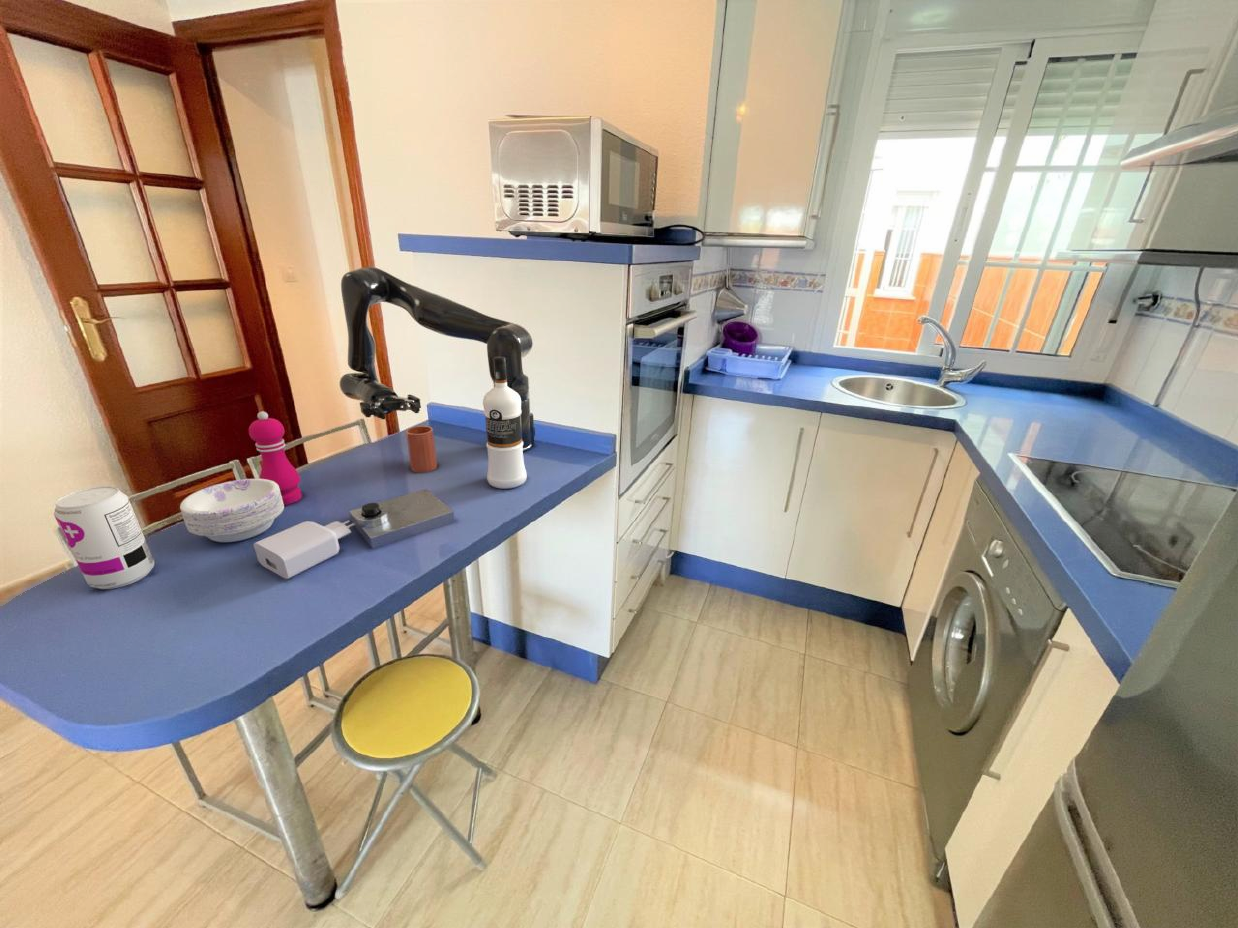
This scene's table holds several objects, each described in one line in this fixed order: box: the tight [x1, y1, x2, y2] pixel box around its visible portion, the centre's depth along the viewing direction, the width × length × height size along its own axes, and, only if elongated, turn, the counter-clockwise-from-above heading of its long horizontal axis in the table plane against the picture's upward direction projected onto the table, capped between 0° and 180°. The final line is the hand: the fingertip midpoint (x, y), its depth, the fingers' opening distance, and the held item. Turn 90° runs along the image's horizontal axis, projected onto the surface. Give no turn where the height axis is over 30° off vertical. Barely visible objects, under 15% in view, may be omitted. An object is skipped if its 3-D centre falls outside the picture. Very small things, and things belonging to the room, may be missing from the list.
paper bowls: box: [179, 478, 285, 543], centre depth 96 cm, size 15×15×8 cm
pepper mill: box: [248, 411, 303, 506], centre depth 105 cm, size 7×7×20 cm
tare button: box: [361, 502, 380, 518], centre depth 97 cm, size 3×3×2 cm
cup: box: [405, 425, 438, 473], centre depth 124 cm, size 6×6×10 cm
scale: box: [348, 488, 455, 550], centre depth 101 cm, size 16×13×4 cm
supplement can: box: [53, 485, 155, 590], centre depth 80 cm, size 8×8×15 cm
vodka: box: [482, 357, 528, 490], centre depth 114 cm, size 9×9×30 cm
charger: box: [252, 519, 355, 580], centre depth 91 cm, size 5×9×15 cm
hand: (400, 412), depth 129 cm, fingers open, 8 cm apart
